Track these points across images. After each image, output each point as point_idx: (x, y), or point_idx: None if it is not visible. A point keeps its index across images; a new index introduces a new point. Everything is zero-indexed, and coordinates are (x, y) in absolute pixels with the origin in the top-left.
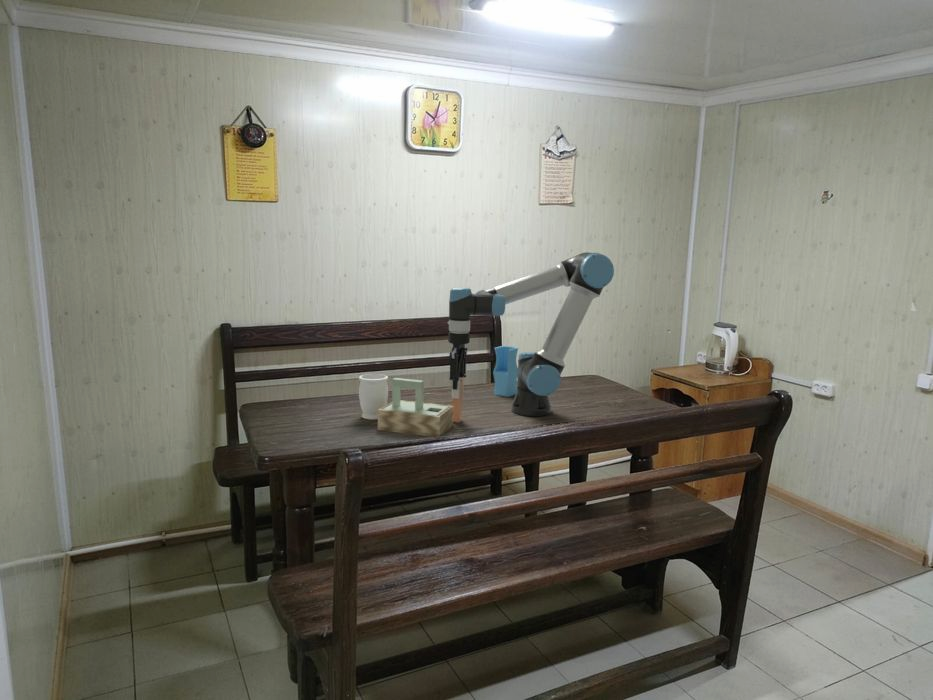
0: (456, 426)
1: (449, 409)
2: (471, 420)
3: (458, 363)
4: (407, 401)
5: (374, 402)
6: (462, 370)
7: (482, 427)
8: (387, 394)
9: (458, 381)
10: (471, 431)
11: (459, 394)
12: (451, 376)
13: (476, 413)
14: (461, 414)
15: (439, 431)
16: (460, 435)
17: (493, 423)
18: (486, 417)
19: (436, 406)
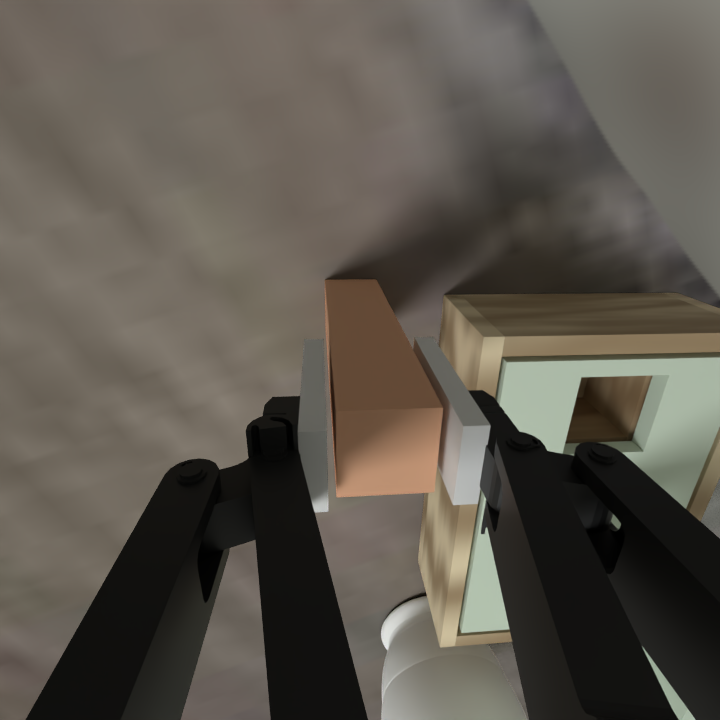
0: (459, 268)
1: (577, 334)
2: (300, 219)
3: (647, 680)
4: (461, 594)
5: (511, 686)
6: (316, 520)
7: (430, 95)
8: (454, 701)
9: (486, 426)
10: (536, 146)
11: (410, 351)
12: (600, 530)
13: (119, 236)
14: (335, 290)
15: (690, 301)
16: (626, 190)
17: (303, 33)
18: (176, 134)
19: (527, 432)
